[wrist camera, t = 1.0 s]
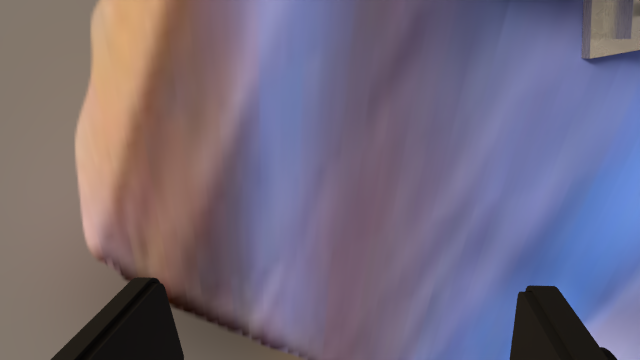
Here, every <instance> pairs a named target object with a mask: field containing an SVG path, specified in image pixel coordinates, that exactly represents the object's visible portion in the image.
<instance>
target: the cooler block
mask: <svg viewBox="0 0 640 360" xmlns="http://www.w3.org/2000/svg"><path fill="white" fill-rule="evenodd" d="M636 50H640V0H583V29H582V58H587V59H591V58H597V57H602V56H608V55H614V54H619V53H625V52H630V51H636Z"/></svg>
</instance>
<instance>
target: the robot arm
mask: <svg viewBox="0 0 640 360" xmlns="http://www.w3.org/2000/svg"><path fill="white" fill-rule="evenodd" d="M51 360H184V355H183V351H182V348H181V344H180V340H179V337H178V333H177V330H176V326H175V322H174V319H173V315H172V312H171V308H170V304H169V301H168V297H167V294H166V290H165V287H164V285H163V284H161V283H160V282H159V280H158V279H156V278H134V279H133V280H131V281H130V282H129V283H128V284H127V285H126V286H125V287H124V288H123V289H122V290H121V291H120V292H119V293H118V294H117V295H116V296H115V297H114V298H113V299H112V300H111V301H110V302H109V303H108V304H107V305H106V306H105V307H104V308H103V309H102V310H101V311H100V312H99V313H98V314H97V315H96V316H95V317H94V318H93V319H92V320H91V321H90V322H88V323H87V325H85V326H84V327H83V328H82V329H81V330H80V332H78V333H77V334H76V335H75V336H74V337H73V338H72V339H71V340H70V341H69V342H68V343H67V344H66V345H65V346H64V347H63V348H62V349H61V350H60V351H59V352H58V353H57V354H56V355H55V356H54V357H53V358H52V359H51ZM510 360H617V359H616V357H615V356H614V355H613V354H612V353H611V352H610V351H609V350H607V349H606V348H603V347H599V345H598V344H597V343H596V341H595V340H594V338H593V337H592V336H591V334H590V333H589V331H588V330H587V329H586V327H585V326H584V324H583V323H582V322H581V320H580V319H579V317H578V316H577V315H576V313H575V312H574V310H573V309H572V308H571V306H570V305H569V303H568V302H567V301H566V299H565V298H564V296H563V295H562V294H561V292H560V291H559V290H558V288H557V287H555V286H527V288H526V291H525V292H519V294H518V298H517V306H516V314H515V322H514V330H513V337H512V345H511V353H510Z"/></svg>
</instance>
